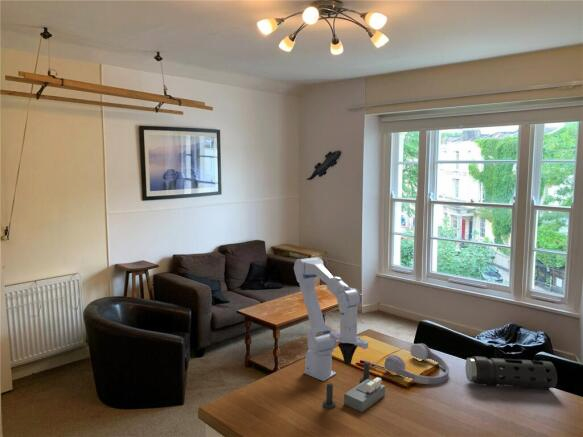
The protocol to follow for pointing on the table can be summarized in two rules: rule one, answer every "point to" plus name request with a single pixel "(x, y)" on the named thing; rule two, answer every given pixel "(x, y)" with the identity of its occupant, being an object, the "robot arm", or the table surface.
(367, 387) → the block
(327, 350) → the robot arm
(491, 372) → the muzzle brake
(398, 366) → the headphones
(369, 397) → the block
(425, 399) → the table surface
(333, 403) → the post
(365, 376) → the cord stand
